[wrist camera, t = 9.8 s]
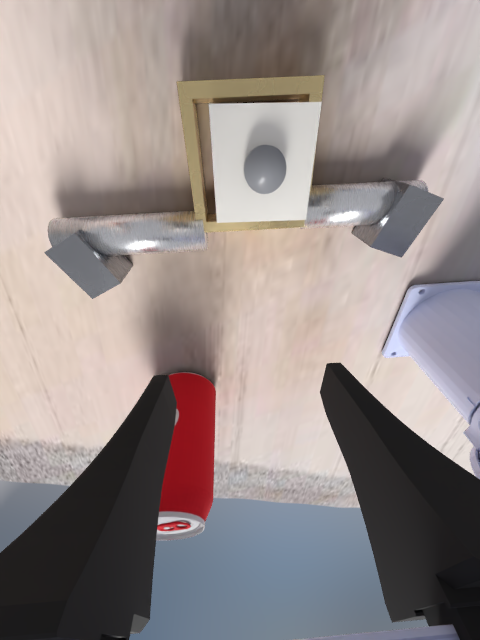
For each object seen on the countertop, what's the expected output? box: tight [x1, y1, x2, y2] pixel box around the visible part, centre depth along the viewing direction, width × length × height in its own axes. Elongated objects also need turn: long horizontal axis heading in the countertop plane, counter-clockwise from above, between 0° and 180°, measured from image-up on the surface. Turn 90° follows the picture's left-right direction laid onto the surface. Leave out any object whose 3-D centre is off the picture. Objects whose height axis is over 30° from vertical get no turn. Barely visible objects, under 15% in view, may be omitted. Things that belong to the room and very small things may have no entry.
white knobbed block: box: [209, 102, 322, 223], centre depth 12 cm, size 4×4×7 cm
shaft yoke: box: [45, 75, 443, 299], centre depth 15 cm, size 23×10×3 cm, turn 92°
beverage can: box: [156, 372, 216, 540], centre depth 22 cm, size 6×6×12 cm
